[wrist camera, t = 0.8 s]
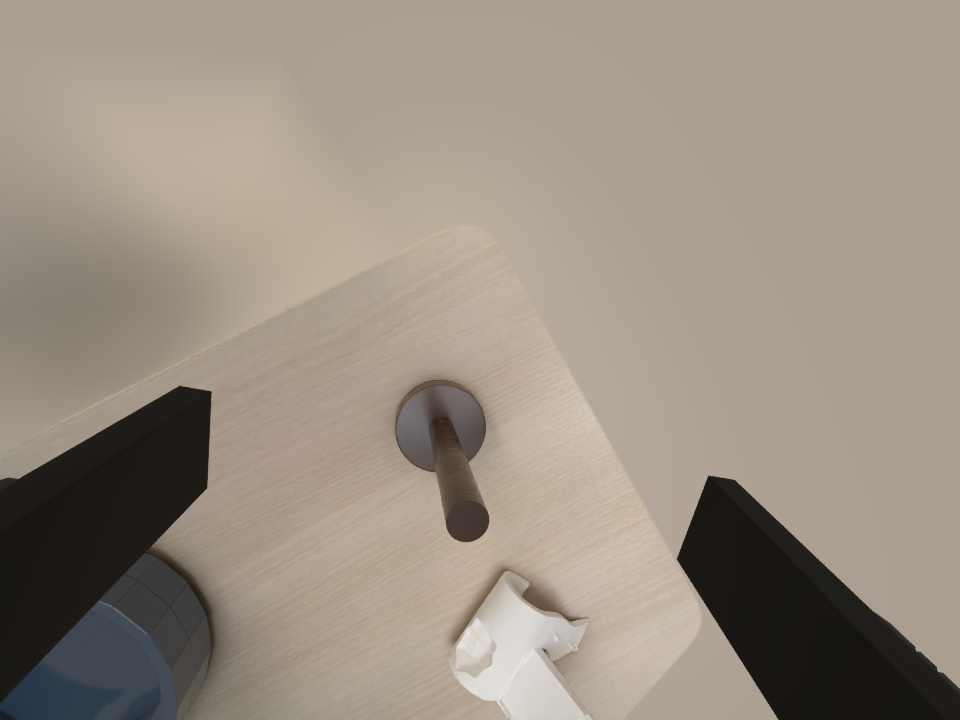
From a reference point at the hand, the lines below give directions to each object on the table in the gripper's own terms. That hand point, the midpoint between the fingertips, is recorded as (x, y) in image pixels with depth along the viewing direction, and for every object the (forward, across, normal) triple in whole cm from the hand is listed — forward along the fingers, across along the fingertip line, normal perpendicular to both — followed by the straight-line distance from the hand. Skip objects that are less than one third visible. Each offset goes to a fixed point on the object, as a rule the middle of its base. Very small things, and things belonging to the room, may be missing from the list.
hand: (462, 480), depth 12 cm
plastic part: (+20, +9, -24) cm, 32 cm away
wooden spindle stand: (+21, 0, -8) cm, 23 cm away
